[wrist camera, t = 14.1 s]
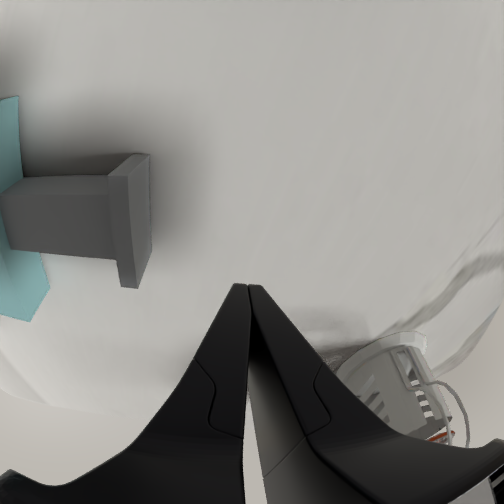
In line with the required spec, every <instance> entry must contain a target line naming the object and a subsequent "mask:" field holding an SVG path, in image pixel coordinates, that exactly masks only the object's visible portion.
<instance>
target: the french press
mask: <svg viewBox="0 0 504 504" xmlns="http://www.w3.org/2000/svg"><path fill="white" fill-rule="evenodd" d="M426 347H427V341H426V337H425V335H423V334H421V333H419V332H416V331H410V332H399V333H396V334H393V335H390V336H387V337H384V338H381V339H378V340H377V341H375V342H373V343H371V344H369V345H368V346H366V347H364V348H362V349H360V350H359V351H357V352H356V353H355V354H354V355H352V356H351V357H350V358H349V359H348V360H346V361H345V362H344V363H343V364H342V365H341V366H340V368H339V369H338V371H337V372H336V376H337V377H338V378H339V379H340V380H341V381H342V382H343V383H344V384H345V385H346V386H347V387H348V388H349V389H350V390H351V391H352V392H353V393H354V394H355V395H356V396H357V397H358V398H359V399H360V400H361V401H362V402H363V403H364V404H365V405H366V406H367V407H368V408H370V409H371V410H372V411H373V412H374V413H375V414H376V415H377V416H378V417H379V418H380V419H382V420H383V421H384V422H385V423H386V424H387V425H388V426H390V427H391V428H393V429H394V430H396V431H398V432H400V433H402V434H404V435H407V436H411V437H415V438H419V439H423V440H425V439H427V438H429V437H430V436H432V435H434V434H435V433H437V432H438V431H439V430H441V429H442V428H443V427H445V426H446V429H447V432H444V433H440V434H437V435H436V436H433V437H431V438H429V439H427V441H432V442H436V443H441V444H445V443H447V442H448V445H451V446H452V438H453V436H454V434H455V432H454V431H451V430H450V424H449V422H450V421H451V419H452V415H451V413H450V411H449V408H448V406H447V404H446V402H445V399H444V397H443V395H442V393H441V391H440V389H439V387H438V384H440V385H443V386H445V387H446V388H447V389H448V391H450V393H451V394H453V396H454V397H455V399H456V401H457V403H458V405H459V407H460V409H461V411H462V413H463V415H464V419H465V424H466V433H467V441H466V448H469V442H470V432H469V421H468V416H467V413H466V411H465V409H464V406H463V404H462V402H461V400H460V398H459V396H458V395H457V394H456V392H455V391H454V390H453V389H452V388H451V387H450V386H449V385H447V384H446V383H444V382H441V381H438V380H437V381H436V380H435V378H434V376H433V374H432V372H431V370H430V368H429V366H428V364H427V362H426V360H425V358H424V353H425V350H426ZM417 379H418V381H419V383H420V384H418V385H414V386H412V385H411V383H410V382H412V381H414V380H417ZM418 390H420V391H423V392H424V395H420V396H417V397H416V394H415V391H418ZM424 400H427V401H428V403H429V405H426V406H422V407H421V406H420V404H419V402H421V401H424ZM426 411H432V412H433V415H434V416H431V417H428V418H425V416H424V414H423V413H424V412H426Z"/></svg>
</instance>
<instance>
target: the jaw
mask: <svg viewBox="0 0 504 504" xmlns="http://www.w3.org/2000/svg"><path fill="white" fill-rule="evenodd" d="M149 163H150V155H142V154H133V155H131V156H130V157H129V158H128V159H126V160H125V161H124V162H123V163H122V164H120V165H119V166H118V167H117V168H116V169H114V170H113V171H112V172H111V173H110V174H109V175H68V176H41V177H24V178H23V171H22V163H21V153H20V141H19V121H18V96H15V97H11V98H7V99H3V100H0V314H1V315H4V316H8V317H12V318H15V319H19V320H23V321H27V322H30V321H31V319H32V318H33V316H34V314H35V312H36V311H37V309H38V307H39V306H40V304H41V302H42V301H43V299H44V297H45V296H46V294H47V292H48V291H49V289H50V285H49V282H48V279H47V276H46V273H45V270H44V267H43V264H42V260H41V257H40V254H39V253H49V254H59V255H69V256H80V257H91V258H102V259H113V260H116V261H117V267H118V273H119V279H120V284H121V287H126V288H136V289H138V287H139V284H140V281H141V279H142V276H143V273H144V271H145V268H146V265H147V263H148V260H149V257H150V255H151V252H152V242H151V223H150V187H149Z"/></svg>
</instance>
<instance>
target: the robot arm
mask: <svg viewBox="0 0 504 504" xmlns="http://www.w3.org/2000/svg"><path fill="white" fill-rule="evenodd" d="M247 382H248V389H249V395H250V402H251V408H252V415H253V421H254V427H255V433H256V440H257V446H258V452H259V458H260V464H261V469H262V475H263V478H264V479H263V481H264V487H265V493H266V498H267V504H504V440H501V439H494V440H492V441H491V442H489V443H488V444H486V445H485V446H483V447H479V448H462V447H456V446H451V445H446V444H441V443H436V442H432V441H427V440H423V439H419V438H415V437H411V436H407V435H404V434H402V433H400V432H398V431H396V430H394V429H393V428H391V427H390V426H388V425H387V424H386V423H385V422H384V421H383V420H382V419H380V418H379V417H378V416H377V415H376V414H375V413H374V412H373V411H372V410H371V409H370V408H368V407H367V406H366V405H365V404H364V403H363V402H362V401H361V400H360V399H359V398H358V397H357V396H356V395H355V394H354V393H353V392H352V391H351V390H350V389H349V388H348V387H347V386H346V385H345V384H344V383H343V382H342V381H341V380H340V379H339V378H338V377H337V376H336V374H335V373H334V372H333V371H332V370H331V369H330V368H329V366H328V365H327V364H326V363H325V362H323V359H322V358H321V357H320V356H319V355H318V353H317V352H316V351H315V350H314V349H313V347H312V346H311V345H310V344H309V343H308V341H307V340H306V339H305V338H304V336H303V335H302V334H301V333H300V332H299V330H298V329H297V328H296V327H295V326H294V324H293V323H292V322H291V321H290V320H289V318H288V317H287V316H286V315H285V313H284V312H283V311H282V310H281V309H280V307H279V306H278V305H277V304H276V302H275V301H274V300H273V299H272V298H271V296H270V295H269V294H268V293H267V291H266V290H265V289H264V288H263V287H262V286H261V285H254V284H249V285H248V286H247V285H246V284H240V283H234V284H233V285H232V287H231V289H230V291H229V293H228V294H227V296H226V298H225V300H224V302H223V304H222V306H221V307H220V309H219V311H218V313H217V315H216V317H215V318H214V320H213V322H212V324H211V326H210V328H209V330H208V331H207V333H206V335H205V337H204V339H203V341H202V343H201V344H200V346H199V348H198V350H197V352H196V354H195V356H194V357H193V360H192V361H191V363H190V364H189V366H188V368H187V370H186V372H185V373H184V375H183V377H182V378H181V380H180V382H179V383H178V385H177V386H176V388H175V389H174V391H173V392H172V393H171V395H170V396H169V398H168V399H167V400H166V402H165V403H164V404H163V405H162V407H161V408H160V409H159V411H158V412H157V413H156V414H155V416H154V417H153V418H152V420H151V421H150V422H149V424H148V425H147V426H146V427H145V429H144V430H143V431H142V432H141V433H140V435H139V436H138V437H137V438H136V439H135V440H134V441H133V442H132V443H131V444H130V445H129V446H128V447H127V448H125V449H124V450H123V451H122V452H120V453H118V454H117V455H115V456H114V457H112V458H110V459H109V460H107V461H106V462H104V463H103V464H101V465H99V466H97V467H96V468H94V469H92V470H91V471H89V472H87V473H85V474H84V475H82V476H80V477H78V478H77V479H75V480H73V481H71V482H69V483H66V484H63V485H57V486H52V485H45V484H41V483H39V482H37V481H34V480H32V479H30V478H28V477H26V476H24V475H22V474H20V473H18V472H16V471H14V470H11V469H9V470H8V471H6V472H5V473H4V474H2V475H1V476H0V504H245V490H244V477H243V439H244V426H245V411H246V396H247Z"/></svg>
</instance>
